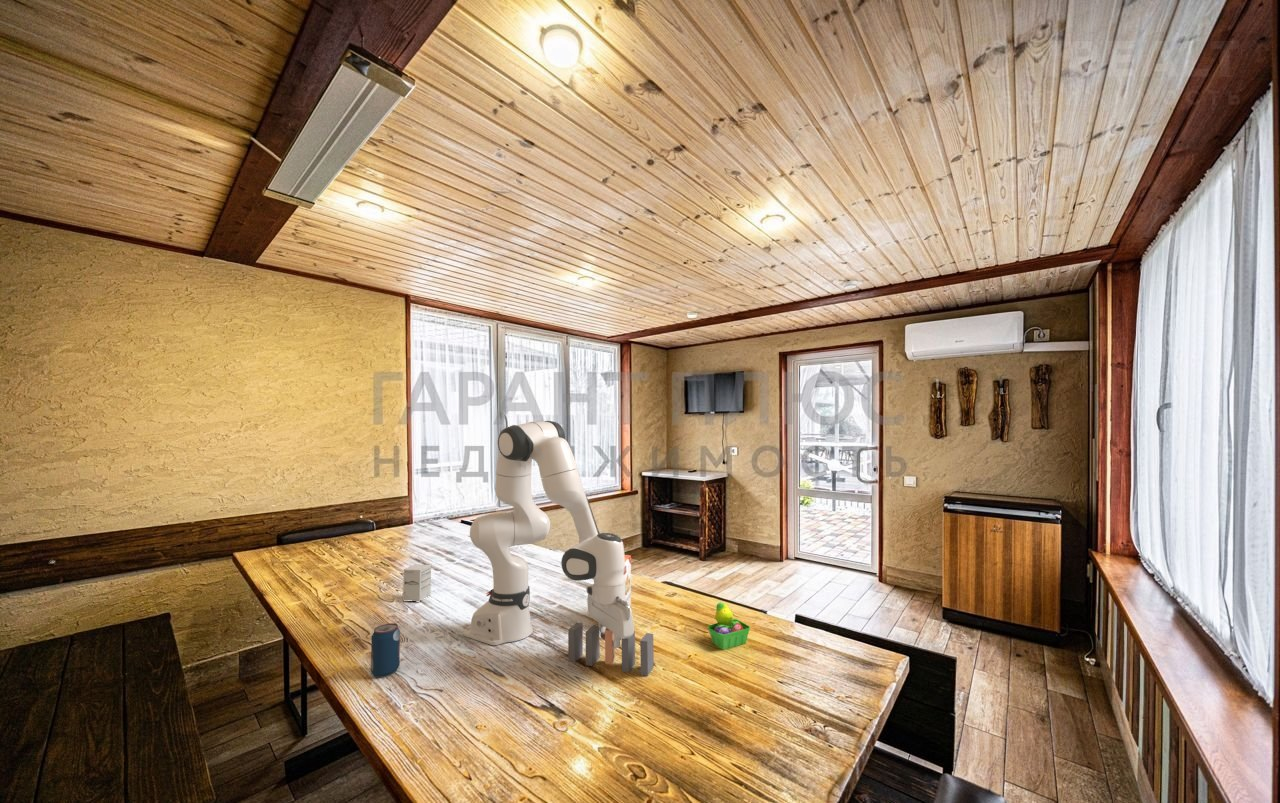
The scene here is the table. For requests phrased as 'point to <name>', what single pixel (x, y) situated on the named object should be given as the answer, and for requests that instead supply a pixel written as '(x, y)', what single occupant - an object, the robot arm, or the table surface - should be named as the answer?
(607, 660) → the domino
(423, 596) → the supplement box
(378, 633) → the soda can
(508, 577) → the robot arm
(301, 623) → the table surface
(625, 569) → the cracker box
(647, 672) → the domino end
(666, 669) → the table surface
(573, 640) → the domino
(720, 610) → the fruit basket
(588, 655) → the domino
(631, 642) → the domino
